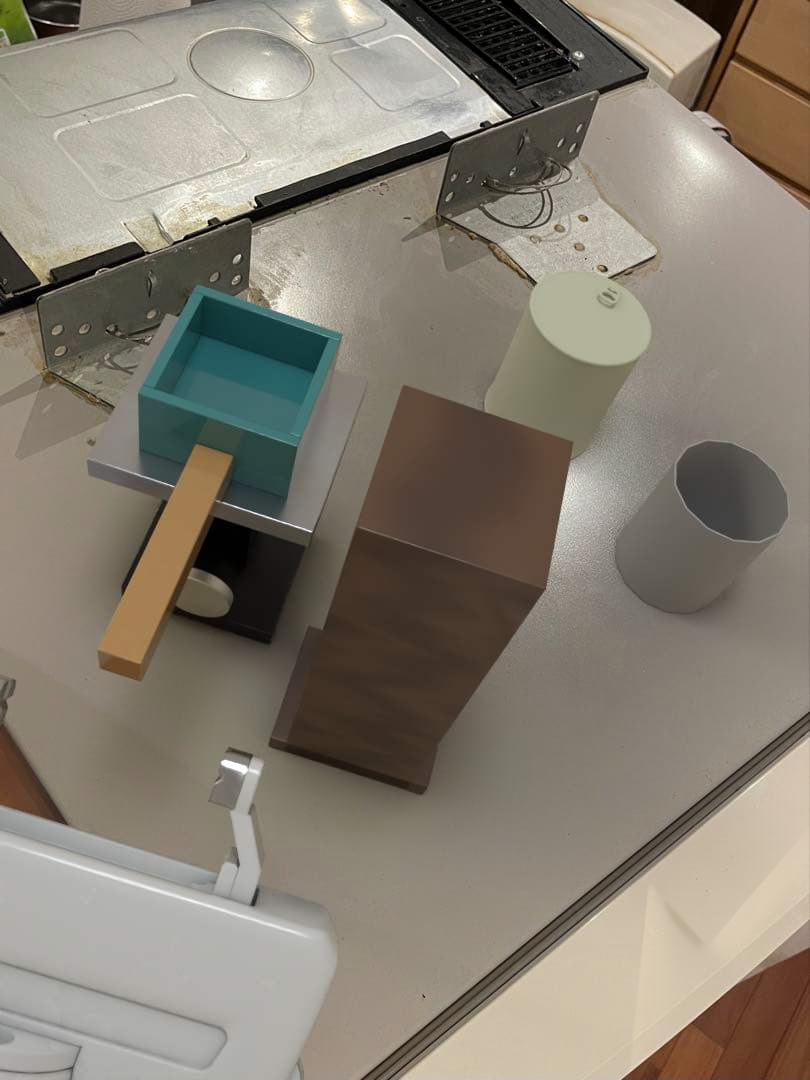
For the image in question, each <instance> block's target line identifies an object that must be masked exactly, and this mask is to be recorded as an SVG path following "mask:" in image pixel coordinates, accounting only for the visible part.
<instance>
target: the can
mask: <svg viewBox="0 0 810 1080" xmlns="http://www.w3.org/2000/svg"><path fill="white" fill-rule="evenodd" d="M650 321H651V320H650V318H649V315H648V314H647V311H646V309H645V308H644V306H643V305H642V304H641V302H640V301H639V300H638V298H637V297H635V296H634V294H632V293H631V292H630V291H629V290H628V289H627V288H625V287H624V286H623V285H621V284H619V283H618V282H616V281H614V280H613V279H610V278H609V277H607V276H604V275H601V274H599V273H595V272H591V271H587V270H579V269H565V270H558V271H555V272H552V273H549V274H548V275H546V276H544V277H543V278H541V279H540V280H539V281H538V282H537V283H536V284H535V285H534V287H533V288H532V290H531V293H530V295H529V299H528V303H527V305H526V307H525V309H524V312H523V315H522V317H521V320H520V321H519V324H518V326H517V328H516V331H515V334H514V336H513V338H512V340H511V342H510V345H509V347H508V349H507V350H506V351H507V352H506V354H505V356H504V358H503V360H502V362H501V366H500V367H499V369H498V372H497V373H496V376H495V378H494V380H493V382H492V383H491V385H490V386H489V387H488V389H487V391H486V393H485V396H484V403H483V409H484V410H483V411H484V412H487V413H490V414H493V415H496V416H499V417H502V418H505V419H508V420H510V421H513V422H516V423H519V424H522V425H525V426H528V427H531V428H534V429H537V430H540V431H543V432H546V433H549V434H552V435H555V436H558V437H561V438H564V439H567V440H570V441H573V449H572V454H571V459H570V460H573V459H575V458H577V457H579V456H580V455H581V454H582V453H584V451H586V450H587V448H588V447H589V445H591V443H592V440H593V439H594V435H595V432H596V430H597V429H598V426H600V424H601V422H602V420H603V419H604V417H605V415H606V413H607V412H608V410H609V409H610V407H611V405H613V402H614V400H615V399H616V397H617V395H618V394H619V392H620V390H621V389H622V387H623V386H624V384H625V382H626V381H627V379H628V378H629V376H630V375H631V373H632V372H633V370H634V368H635V367H636V365H637V363H638V362H639V361H640V359H641V357H642V356H643V355H644V354H645V353H646V351H647V350H648V348H649V346H650V343H651V340H652V325H651V322H650Z"/></svg>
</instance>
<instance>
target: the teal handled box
mask: <svg viewBox="0 0 810 1080" xmlns="http://www.w3.org/2000/svg"><path fill="white" fill-rule="evenodd" d="M178 317H179V318H178V320H177V322H176V324H175V326H174V328H173V329H172V331H171V333H170V335H169V337H168V339H167V340H166V342H165V344H164V346H163V348H162V350H161V351H160V353H159V355H158V357H157V359H156V361H155V363H154V364H153V366H152V368H151V370H150V372H149V374H148V375H147V377H146V379H145V381H144V383H143V385H142V386H141V388H140V390H139V392H138V427H139V449H140V450H143V451H146V452H149V453H152V454H155V455H158V456H161V457H164V458H167V459H170V460H173V461H176V462H179V463H182V464H185V467H184V469H183V472H182V474H181V476H180V478H179V480H178V482H177V484H176V486H175V488H174V490H173V492H172V494H171V497H170V499H169V501H168V503H167V505H166V507H165V509H164V511H163V513H162V515H161V517H160V519H159V522H158V524H157V526H156V528H155V530H154V532H153V534H152V536H151V538H150V540H149V542H148V544H147V547H146V549H145V551H144V553H143V555H142V557H141V559H140V561H139V563H138V565H137V567H136V570H135V572H134V574H133V576H132V578H131V580H130V582H129V584H128V586H127V588H126V590H125V592H124V595H123V597H122V596H121V599H120V601H119V603H118V605H117V607H116V609H115V612H114V613H113V615H112V618H111V620H110V622H109V624H108V626H107V628H106V630H105V632H104V634H103V636H102V638H101V641H100V643H99V645H98V647H97V650H96V652H97V659H98V661H97V662H98V668H99V669H100V670H103V671H105V672H109V673H112V674H115V675H118V676H122V677H124V678H126V679H127V678H128V679H131V680H134V681H137V682H143V680H144V678H145V676H146V674H147V671H148V668H149V666H150V664H151V662H152V659H153V657H154V655H155V653H156V650H157V648H158V646H159V644H160V641H161V639H162V637H163V635H164V632H165V631H166V628H167V627H168V624H169V621H170V619H171V617H172V615H173V613H172V612H173V610H174V608H175V605H176V603H177V601H178V598H179V596H180V594H181V592H182V589H183V587H184V585H185V583H186V580H187V578H188V576H189V574H190V571H191V569H192V567H193V564H194V562H195V560H196V558H197V555H198V553H199V551H200V549H201V546H202V544H203V542H204V540H205V537H206V535H207V533H208V530H209V528H210V526H211V524H212V521H213V519H214V517H215V515H216V512H217V510H218V508H219V506H220V503H221V501H222V499H223V496H224V494H225V492H226V490H227V487H228V485H229V483H230V481H231V480H233V481H236V482H239V483H242V484H245V485H248V486H251V487H254V488H257V489H260V490H263V491H267V492H270V493H273V494H276V495H279V496H282V497H285V498H288V495H289V493H290V490H291V488H292V485H293V482H294V480H295V477H296V475H297V472H298V470H299V467H300V465H301V462H302V460H303V457H304V455H305V452H306V449H307V447H308V444H309V442H310V439H311V437H312V434H313V432H314V429H315V427H316V424H317V422H318V419H319V416H320V414H321V411H322V409H323V406H324V404H325V401H326V399H327V396H328V394H329V391H330V388H331V384H332V380H333V375H334V371H335V370H336V366H337V362H338V357H339V353H340V348H341V344H342V340H343V337H344V335H343V333H341V332H339V331H335V330H333V329H330V328H327V327H324V326H320V325H318V324H315V323H312V322H309V321H306V320H303V319H300V318H297V317H294V316H291V315H288V314H285V313H284V312H279V311H277V310H274V309H271V308H268V307H265V306H263V305H260V304H257V303H253V302H250V301H247V300H245V299H241V298H239V297H236V296H233V295H230V294H226V293H224V292H221V291H218V290H215V289H212V288H209V287H206V286H204V285H200V284H196V285H195V287H194V289H193V291H192V292H191V295H190V296H189V298H188V300H187V302H186V304H185V306H184V307H183V309H182V311H181V312H180V315H179V316H178Z"/></svg>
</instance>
